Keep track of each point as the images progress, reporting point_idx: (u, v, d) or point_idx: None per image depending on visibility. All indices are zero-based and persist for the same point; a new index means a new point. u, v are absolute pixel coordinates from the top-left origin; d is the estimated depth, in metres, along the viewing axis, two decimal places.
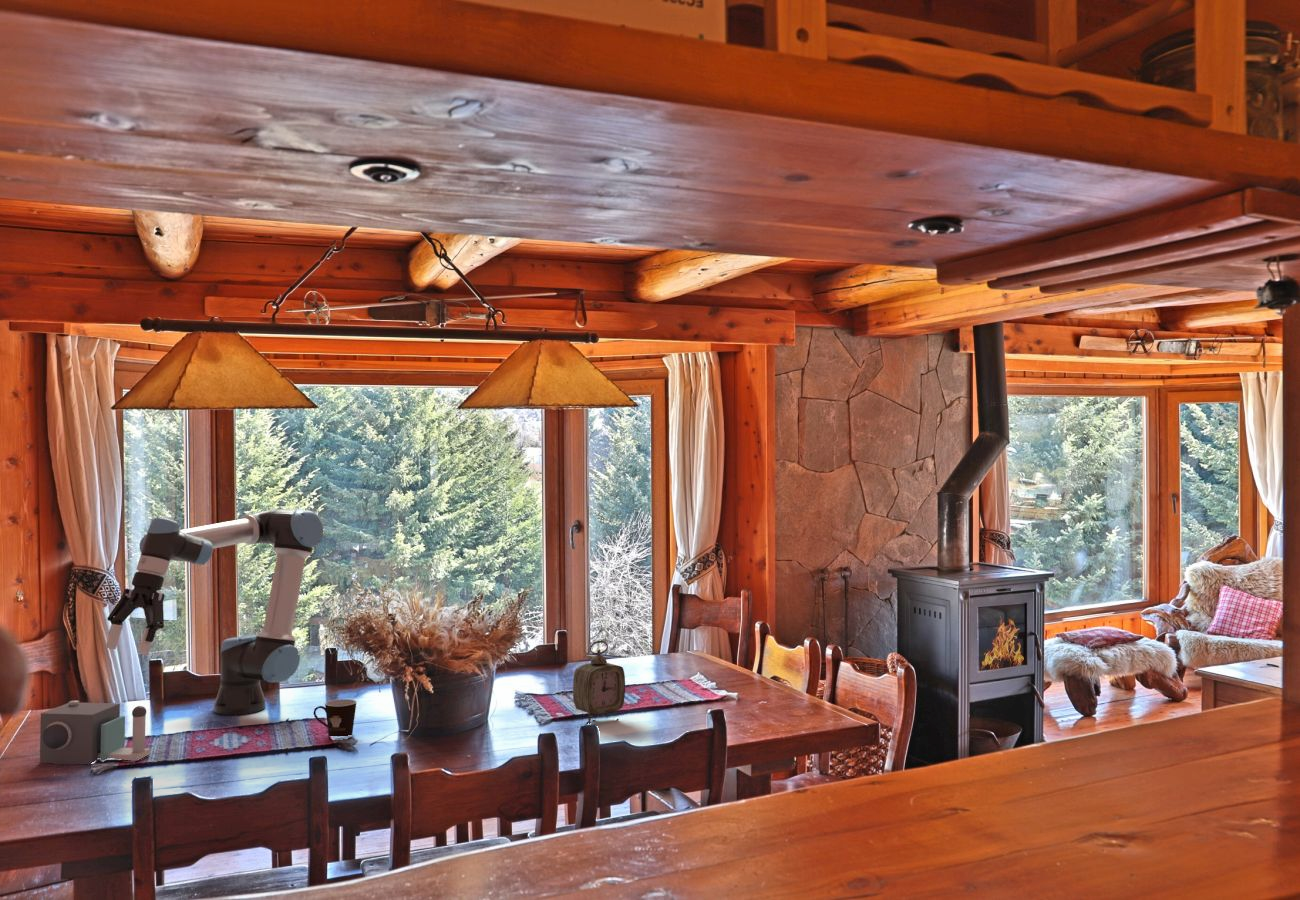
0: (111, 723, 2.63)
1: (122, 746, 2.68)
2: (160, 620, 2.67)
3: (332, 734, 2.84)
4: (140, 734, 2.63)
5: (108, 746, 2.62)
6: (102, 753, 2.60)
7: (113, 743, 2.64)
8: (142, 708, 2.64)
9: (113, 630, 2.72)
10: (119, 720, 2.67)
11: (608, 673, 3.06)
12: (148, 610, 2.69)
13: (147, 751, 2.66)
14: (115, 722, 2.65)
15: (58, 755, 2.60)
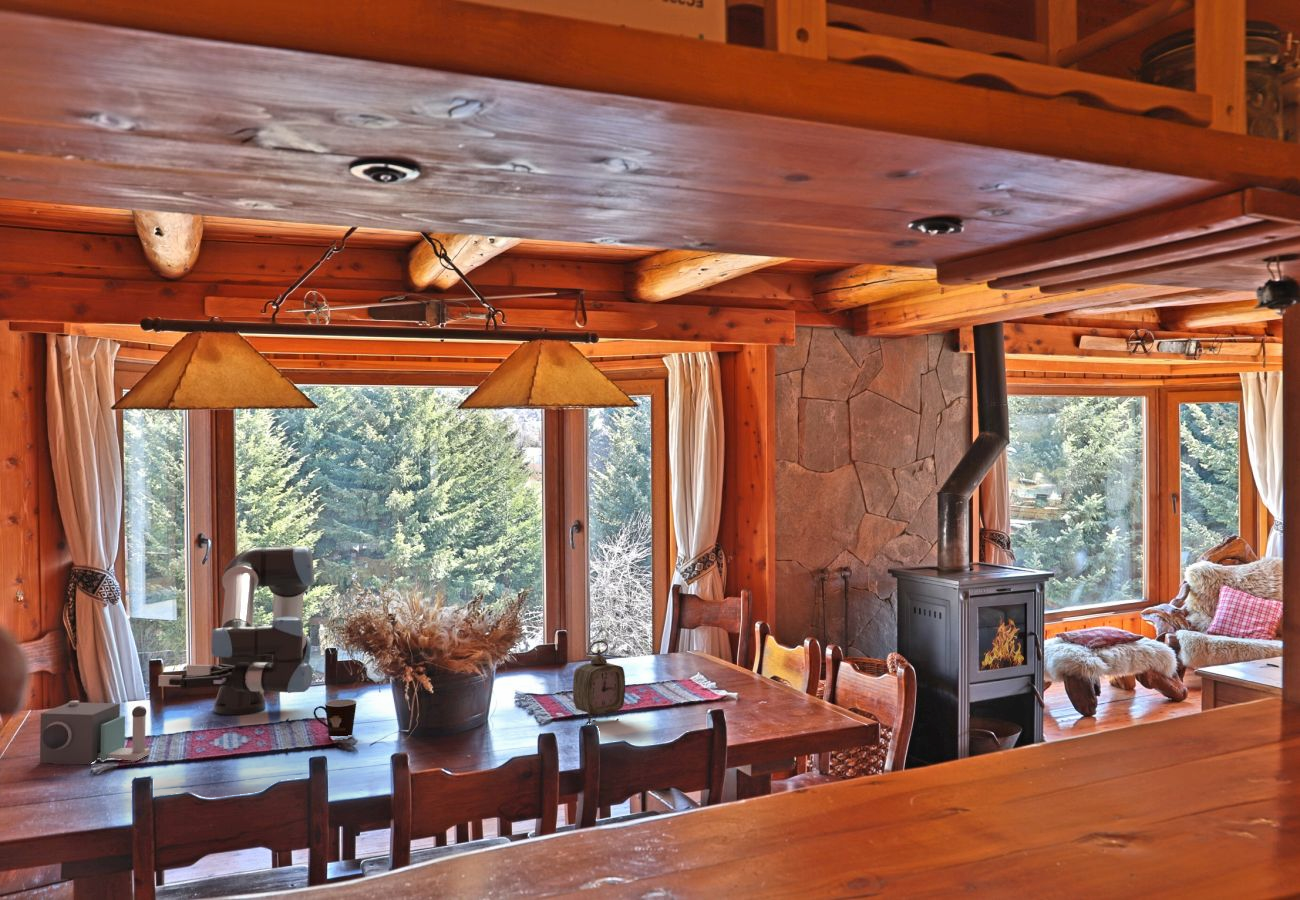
0: (111, 723, 2.63)
1: (122, 746, 2.68)
2: None
3: (332, 734, 2.84)
4: (140, 734, 2.63)
5: (108, 746, 2.62)
6: (102, 753, 2.60)
7: (113, 743, 2.64)
8: (142, 708, 2.64)
9: None
10: (119, 720, 2.67)
11: (608, 673, 3.06)
12: None
13: (147, 751, 2.66)
14: (115, 722, 2.65)
15: (58, 755, 2.60)
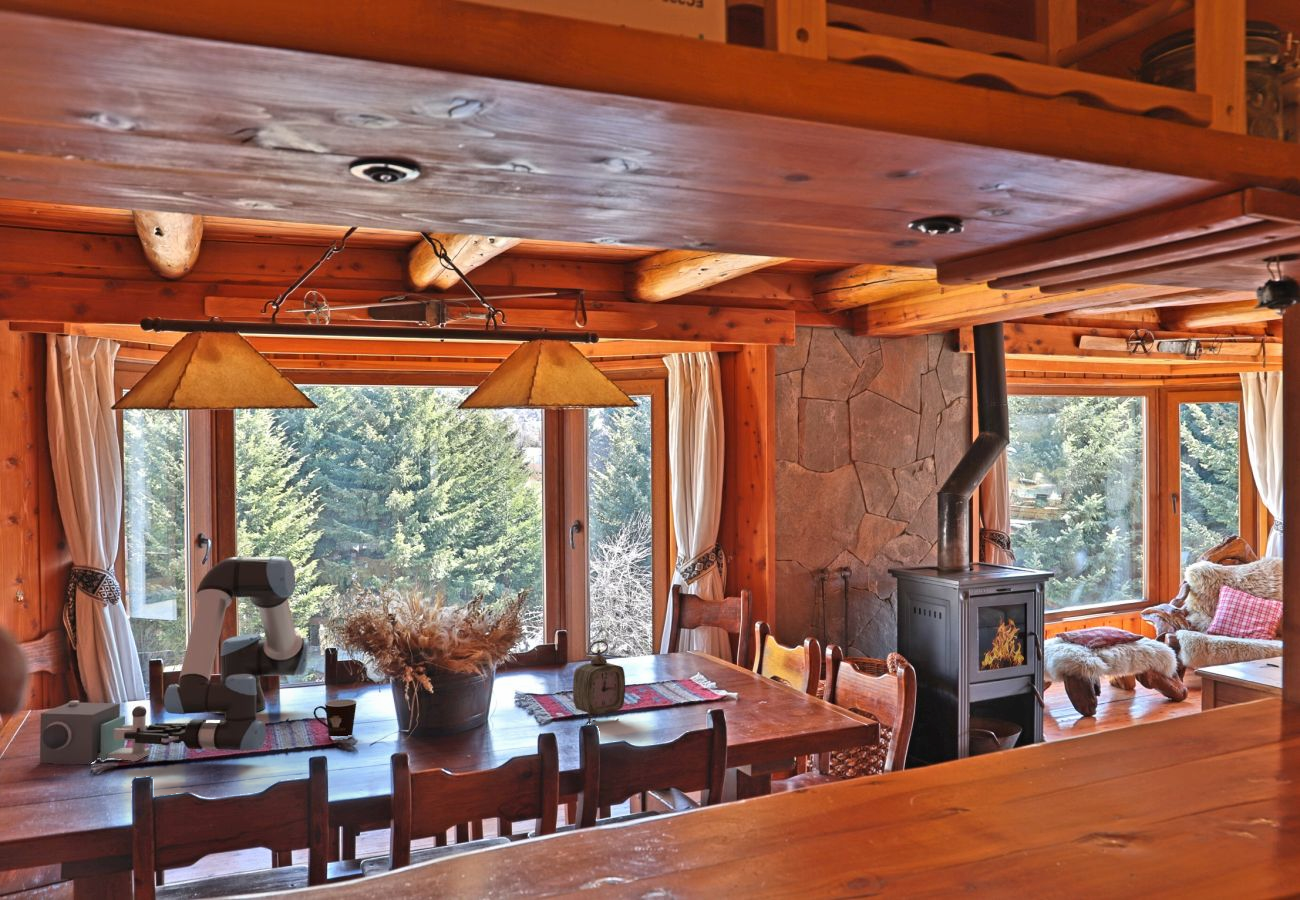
0: (111, 723, 2.63)
1: (122, 746, 2.68)
2: None
3: (332, 734, 2.84)
4: None
5: (108, 746, 2.62)
6: (102, 753, 2.60)
7: (113, 743, 2.64)
8: (142, 708, 2.64)
9: None
10: (119, 720, 2.67)
11: (608, 673, 3.06)
12: None
13: (147, 751, 2.66)
14: (115, 722, 2.65)
15: (58, 755, 2.60)
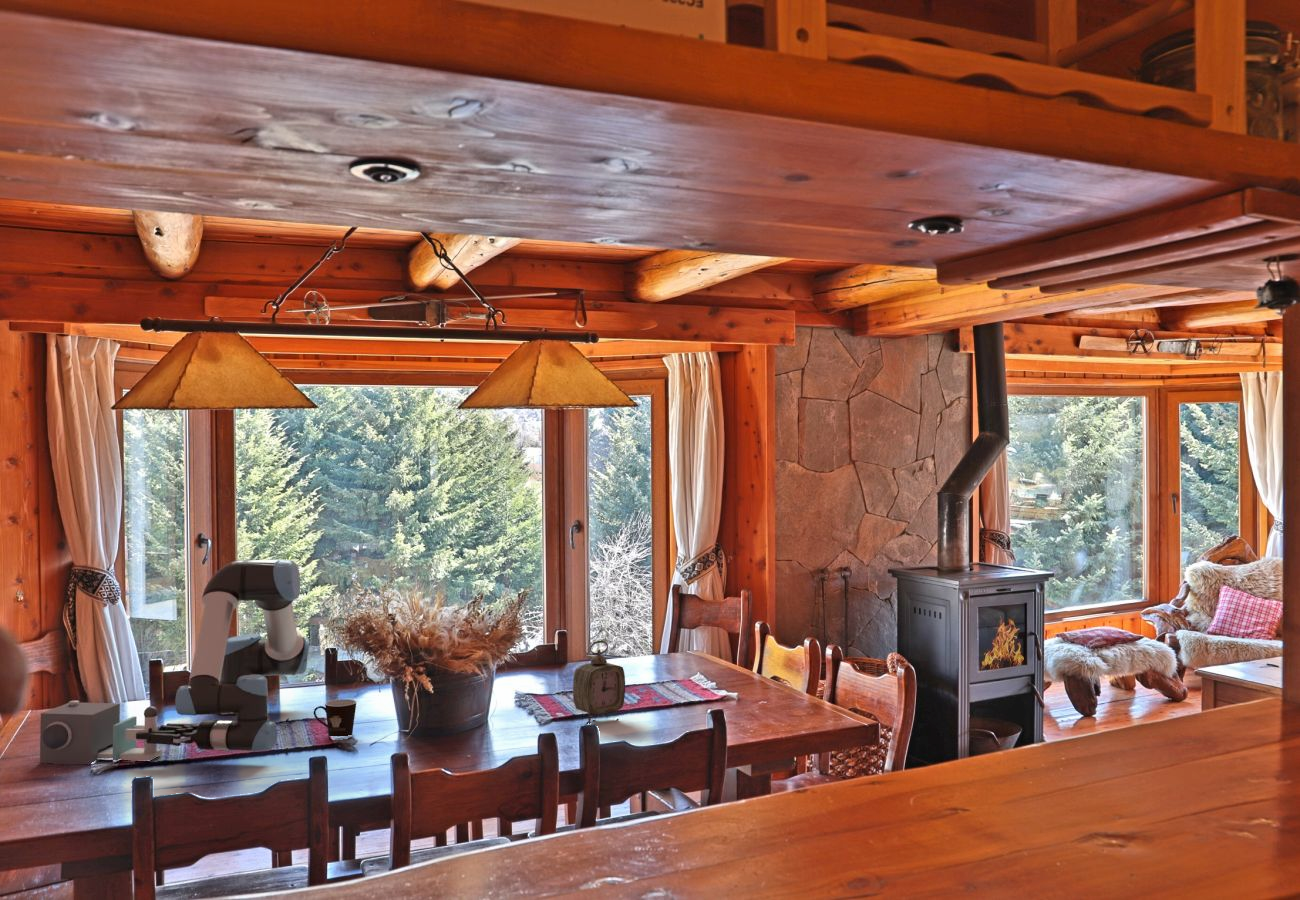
0: (122, 723, 2.63)
1: (134, 746, 2.68)
2: None
3: (332, 734, 2.84)
4: None
5: (120, 746, 2.62)
6: (114, 753, 2.60)
7: (125, 743, 2.64)
8: (154, 708, 2.64)
9: None
10: (131, 721, 2.67)
11: (608, 673, 3.06)
12: None
13: (159, 751, 2.66)
14: (127, 723, 2.65)
15: (58, 755, 2.60)
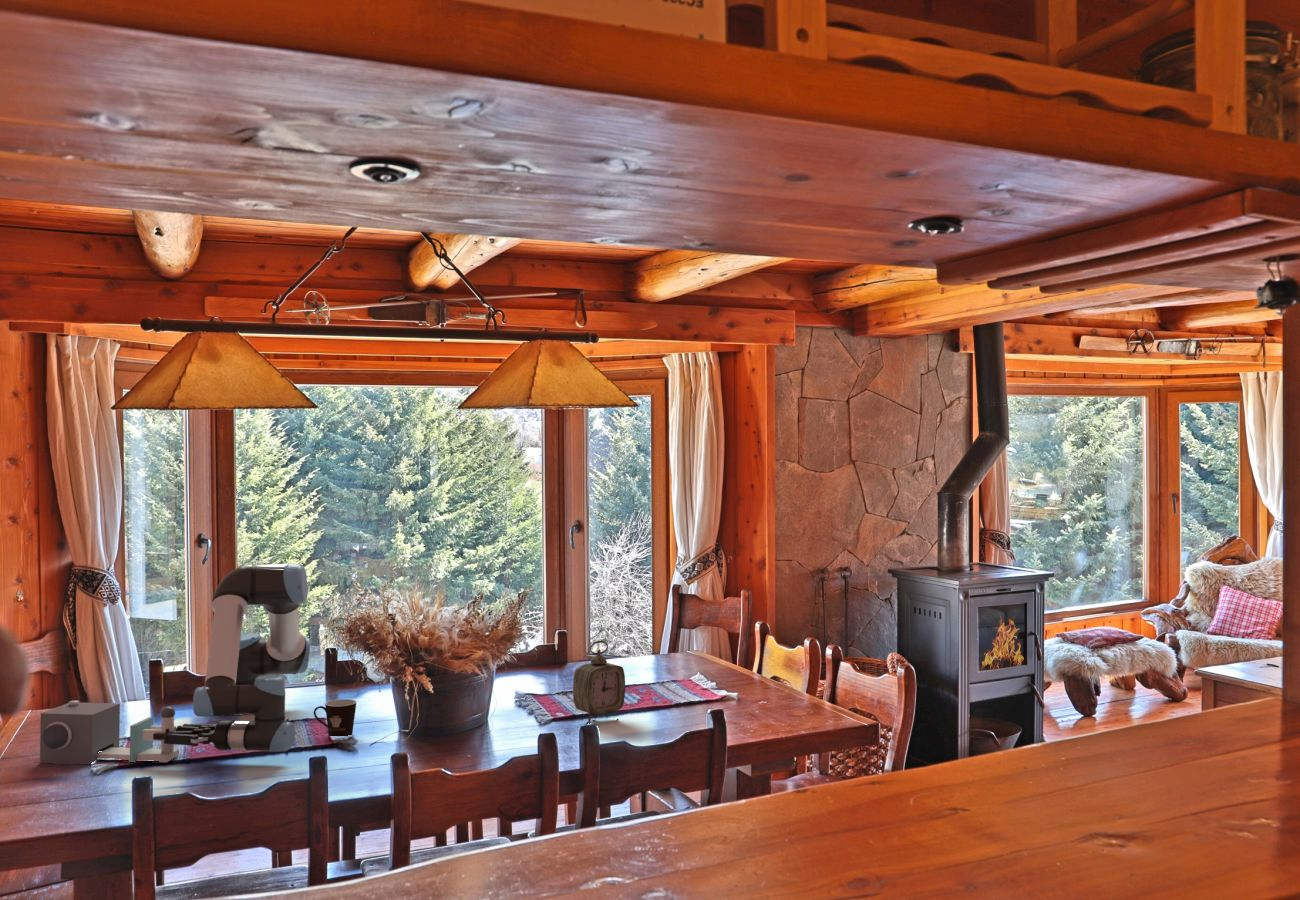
0: (139, 723, 2.63)
1: (150, 747, 2.68)
2: None
3: (332, 734, 2.84)
4: None
5: (137, 747, 2.62)
6: (131, 754, 2.60)
7: (142, 744, 2.64)
8: (171, 709, 2.64)
9: None
10: (147, 721, 2.66)
11: (608, 673, 3.06)
12: None
13: (176, 752, 2.65)
14: (144, 723, 2.65)
15: (58, 755, 2.60)
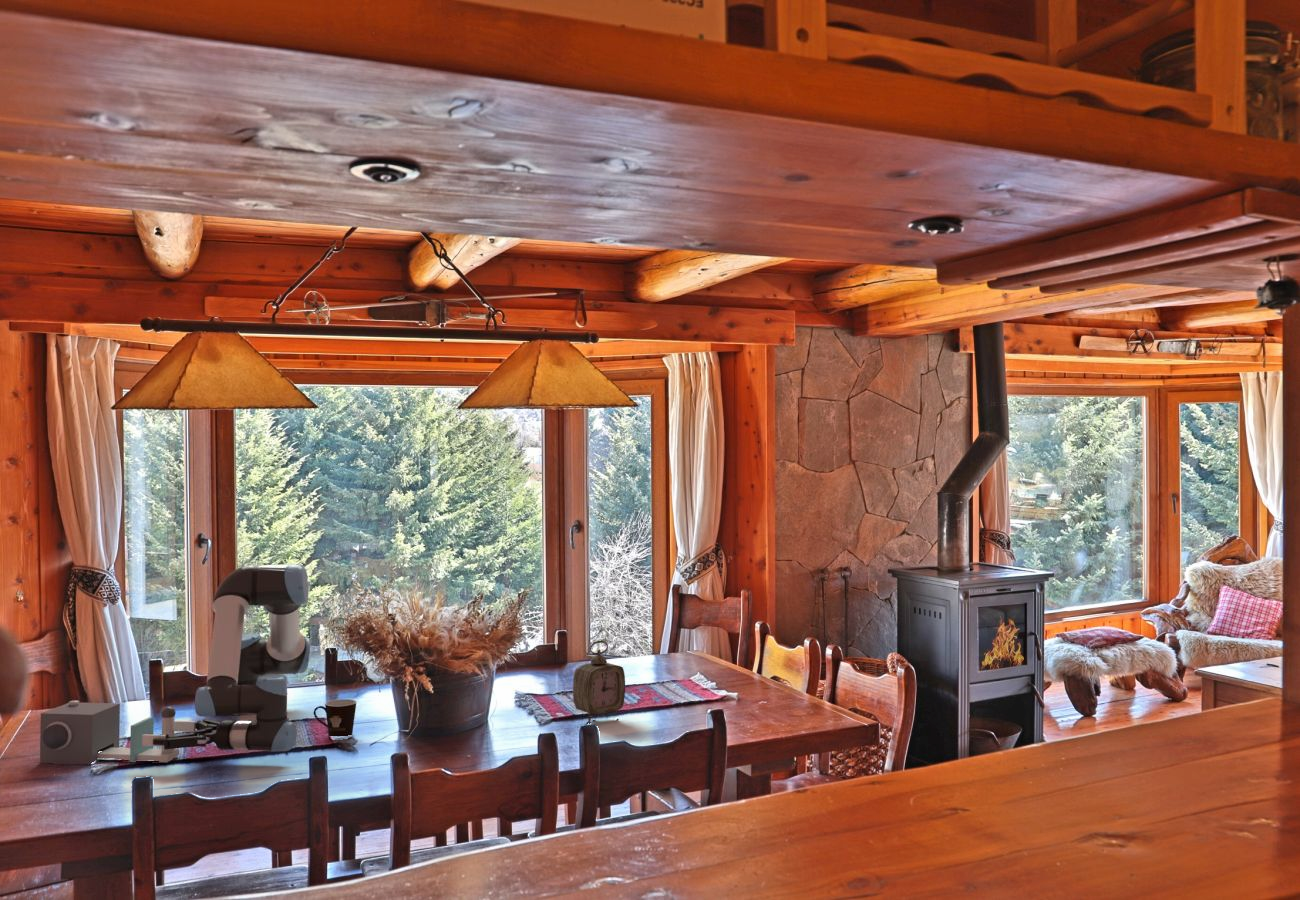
0: (140, 723, 2.63)
1: (151, 747, 2.68)
2: None
3: (332, 734, 2.84)
4: (170, 735, 2.63)
5: (138, 747, 2.62)
6: (132, 754, 2.60)
7: None
8: (171, 709, 2.64)
9: None
10: (148, 721, 2.66)
11: (608, 673, 3.06)
12: None
13: (176, 752, 2.65)
14: (145, 723, 2.65)
15: (58, 755, 2.60)
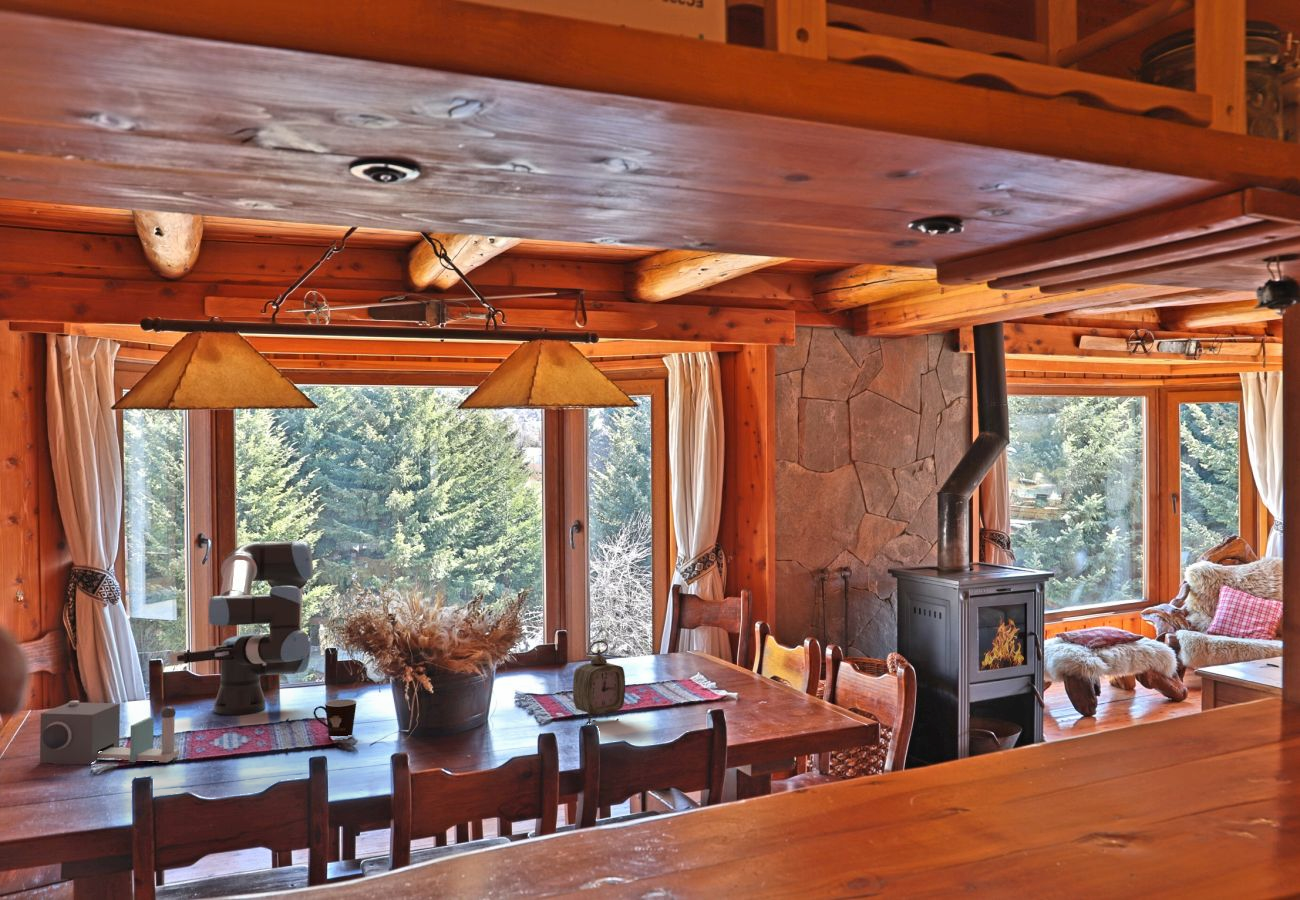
0: (140, 723, 2.63)
1: (151, 747, 2.68)
2: None
3: (332, 734, 2.84)
4: (170, 735, 2.63)
5: (138, 747, 2.62)
6: (132, 754, 2.60)
7: (142, 744, 2.64)
8: (171, 709, 2.64)
9: None
10: (148, 721, 2.66)
11: (608, 673, 3.06)
12: None
13: (176, 752, 2.65)
14: (145, 723, 2.65)
15: (58, 755, 2.60)
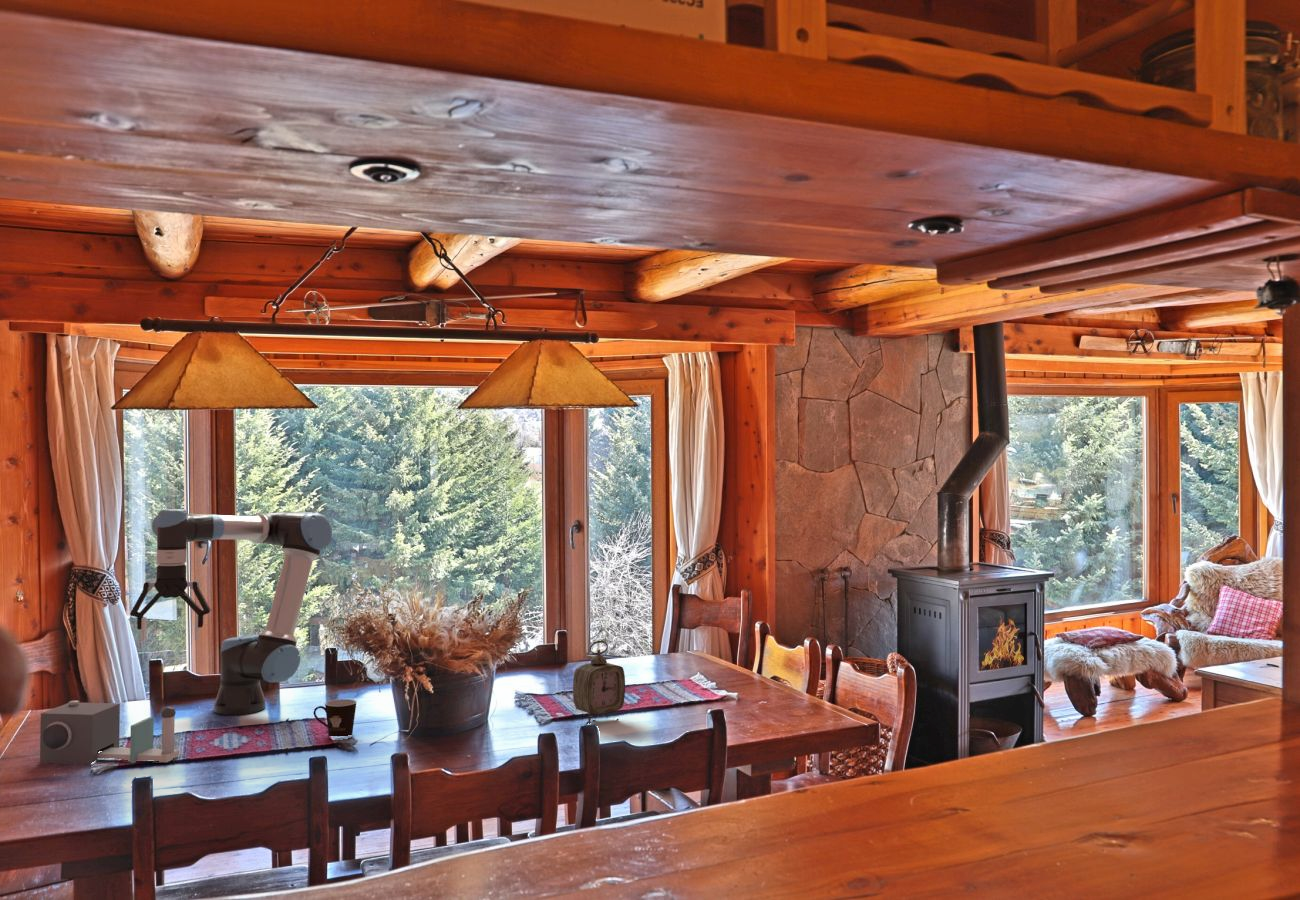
0: (140, 723, 2.63)
1: (151, 747, 2.68)
2: (207, 606, 2.83)
3: (332, 734, 2.84)
4: (170, 735, 2.63)
5: (138, 747, 2.62)
6: (132, 754, 2.60)
7: (142, 744, 2.64)
8: (171, 709, 2.64)
9: (144, 624, 2.77)
10: (148, 721, 2.66)
11: (608, 673, 3.06)
12: (189, 599, 2.81)
13: (176, 752, 2.65)
14: (145, 723, 2.65)
15: (58, 755, 2.60)
